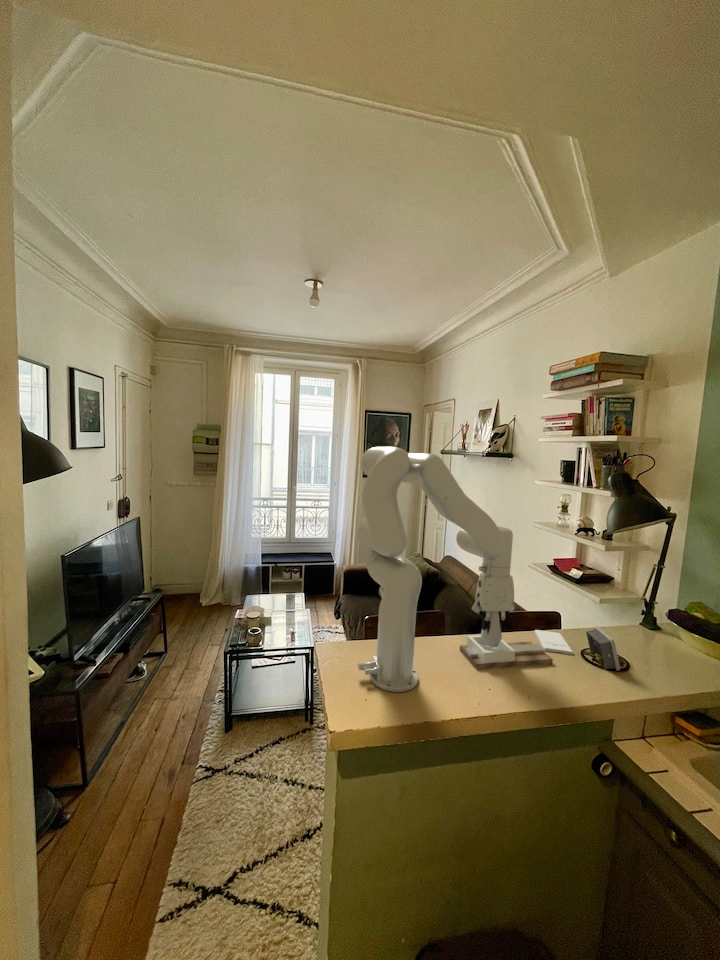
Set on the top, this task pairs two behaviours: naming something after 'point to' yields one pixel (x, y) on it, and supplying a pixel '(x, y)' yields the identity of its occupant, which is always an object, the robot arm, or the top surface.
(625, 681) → the top surface
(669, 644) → the top surface
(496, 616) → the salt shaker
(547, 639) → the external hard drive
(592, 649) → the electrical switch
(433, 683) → the top surface
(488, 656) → the white square tray
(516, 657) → the rail board
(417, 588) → the robot arm
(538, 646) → the rail
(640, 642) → the top surface
